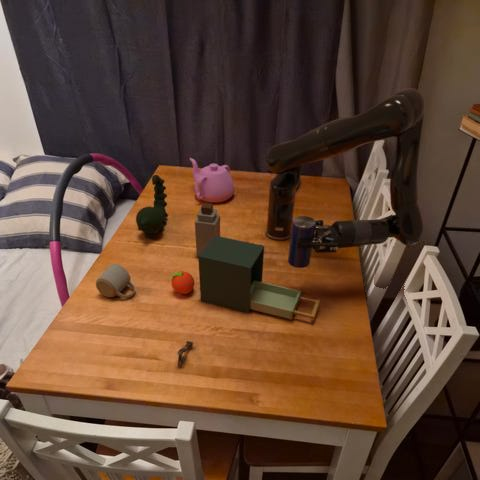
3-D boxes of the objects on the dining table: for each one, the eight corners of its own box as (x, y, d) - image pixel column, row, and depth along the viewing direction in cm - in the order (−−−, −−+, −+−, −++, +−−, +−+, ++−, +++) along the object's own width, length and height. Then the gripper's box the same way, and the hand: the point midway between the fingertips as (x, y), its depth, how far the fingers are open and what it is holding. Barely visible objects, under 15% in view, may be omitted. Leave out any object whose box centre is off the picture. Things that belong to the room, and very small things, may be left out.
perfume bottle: (215, 260, 138) (214, 211, 126) (196, 257, 139) (193, 209, 127) (220, 249, 143) (219, 202, 131) (202, 247, 144) (199, 199, 132)
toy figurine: (152, 217, 163) (132, 245, 143) (146, 170, 152) (124, 192, 132) (175, 219, 162) (158, 247, 142) (171, 171, 151) (152, 194, 131)
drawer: (320, 303, 120) (321, 295, 118) (312, 325, 113) (314, 317, 111) (253, 287, 126) (253, 279, 124) (242, 307, 118) (242, 299, 116)
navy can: (291, 253, 120) (295, 213, 112) (312, 258, 119) (318, 218, 110) (285, 265, 116) (289, 224, 107) (307, 269, 114) (313, 229, 106)
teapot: (207, 180, 187) (205, 150, 178) (245, 193, 178) (246, 161, 169) (174, 197, 174) (171, 165, 164) (214, 211, 164) (213, 178, 155)
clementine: (169, 300, 122) (167, 281, 117) (168, 286, 127) (165, 267, 122) (196, 297, 123) (194, 278, 118) (193, 283, 128) (192, 265, 123)
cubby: (261, 289, 126) (264, 245, 115) (248, 313, 118) (250, 268, 107) (216, 279, 130) (215, 235, 119) (200, 301, 122) (198, 256, 111)
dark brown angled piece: (174, 367, 101) (175, 350, 99) (185, 355, 108) (186, 339, 107) (180, 368, 100) (182, 351, 99) (191, 356, 108) (193, 341, 106)
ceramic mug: (96, 295, 122) (91, 275, 117) (111, 280, 128) (107, 260, 123) (127, 304, 120) (122, 283, 115) (141, 288, 126) (137, 268, 120)
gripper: (344, 209, 117) (288, 213, 114) (363, 235, 106) (302, 239, 104) (339, 232, 122) (286, 236, 120) (357, 259, 111) (299, 264, 109)
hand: (294, 238), depth 112 cm, fingers closed on navy can, 6 cm apart
